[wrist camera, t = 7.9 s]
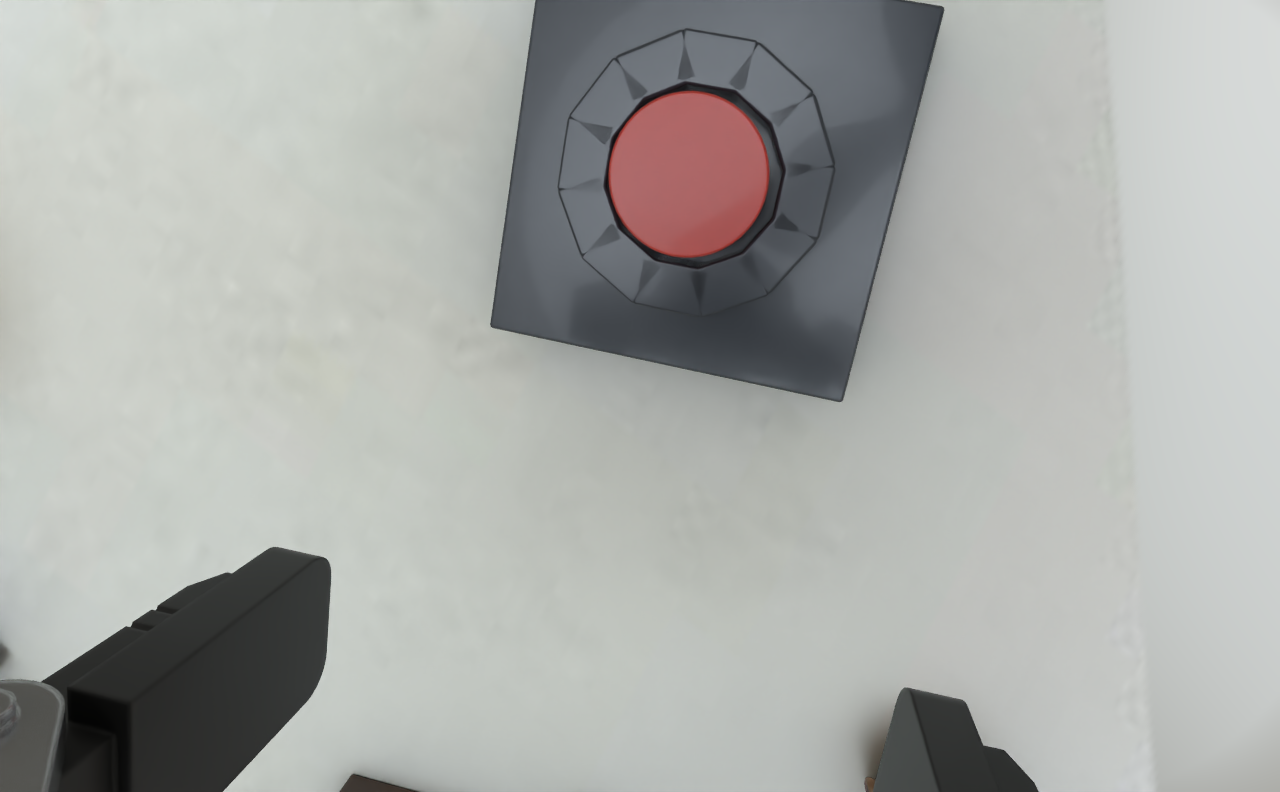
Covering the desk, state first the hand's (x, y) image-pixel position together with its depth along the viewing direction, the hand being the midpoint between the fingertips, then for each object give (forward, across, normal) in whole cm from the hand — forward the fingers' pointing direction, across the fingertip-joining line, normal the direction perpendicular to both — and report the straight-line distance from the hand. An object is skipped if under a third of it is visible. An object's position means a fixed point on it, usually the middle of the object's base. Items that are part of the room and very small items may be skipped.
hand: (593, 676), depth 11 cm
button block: (+14, +1, -7) cm, 16 cm away
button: (+11, +1, -7) cm, 13 cm away
